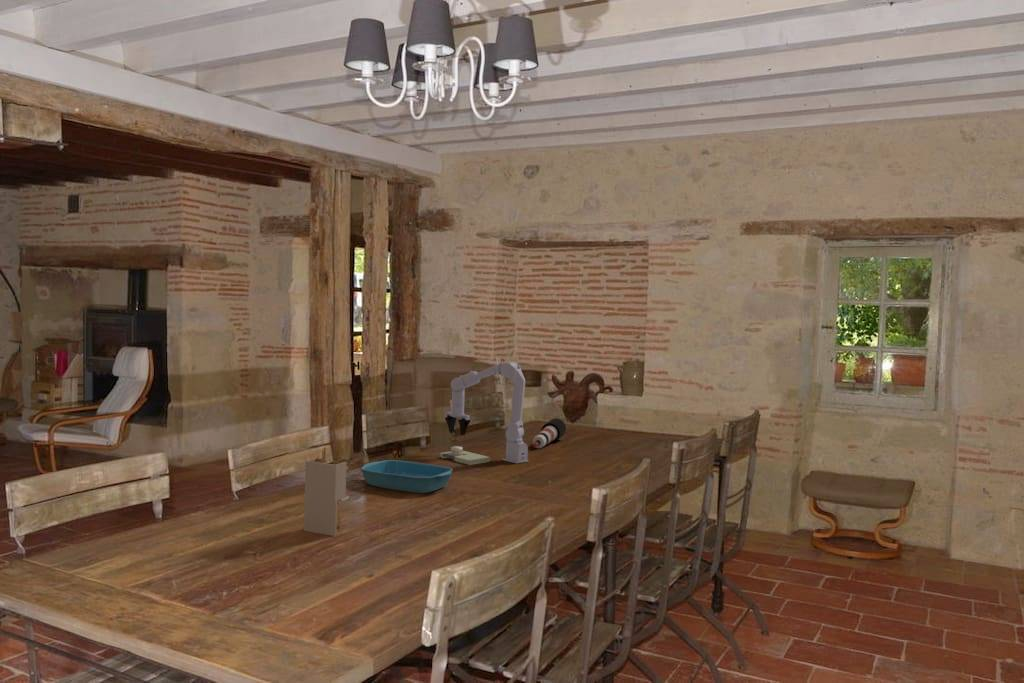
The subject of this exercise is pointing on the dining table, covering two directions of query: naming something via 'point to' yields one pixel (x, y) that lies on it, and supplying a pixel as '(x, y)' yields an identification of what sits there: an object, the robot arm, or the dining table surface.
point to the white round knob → (456, 451)
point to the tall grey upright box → (323, 495)
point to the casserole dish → (406, 475)
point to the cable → (549, 433)
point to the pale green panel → (467, 457)
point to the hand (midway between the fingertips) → (457, 433)
